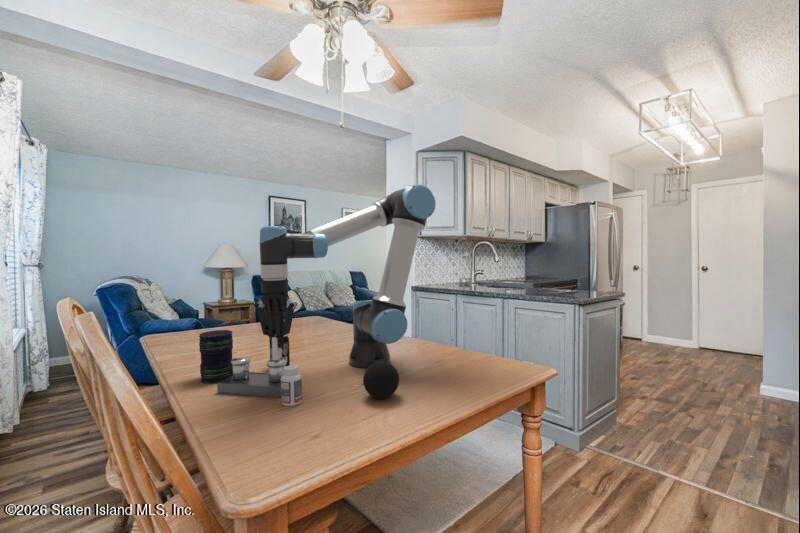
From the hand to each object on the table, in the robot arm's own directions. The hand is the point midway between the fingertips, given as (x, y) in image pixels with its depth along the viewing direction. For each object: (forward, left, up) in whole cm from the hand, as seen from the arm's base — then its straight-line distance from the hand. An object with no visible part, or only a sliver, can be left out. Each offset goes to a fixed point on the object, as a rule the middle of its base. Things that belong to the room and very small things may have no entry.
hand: (277, 358), depth 112 cm
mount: (+6, 0, -9) cm, 11 cm away
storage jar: (+25, -6, -10) cm, 28 cm away
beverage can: (+10, -19, -10) cm, 23 cm away
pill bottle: (-9, +8, -10) cm, 15 cm away
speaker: (-32, 0, -10) cm, 33 cm away
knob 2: (0, 0, -9) cm, 9 cm away
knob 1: (+12, 0, -9) cm, 15 cm away
